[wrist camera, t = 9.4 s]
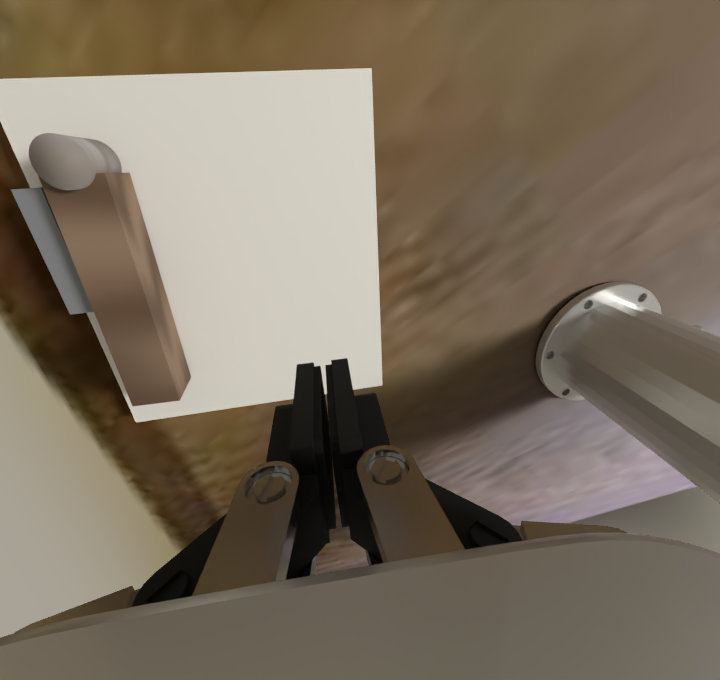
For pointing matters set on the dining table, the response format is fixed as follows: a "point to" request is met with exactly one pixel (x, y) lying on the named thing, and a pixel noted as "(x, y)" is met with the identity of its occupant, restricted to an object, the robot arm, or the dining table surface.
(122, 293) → the folding leg
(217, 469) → the dining table surface
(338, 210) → the white flat square panel
